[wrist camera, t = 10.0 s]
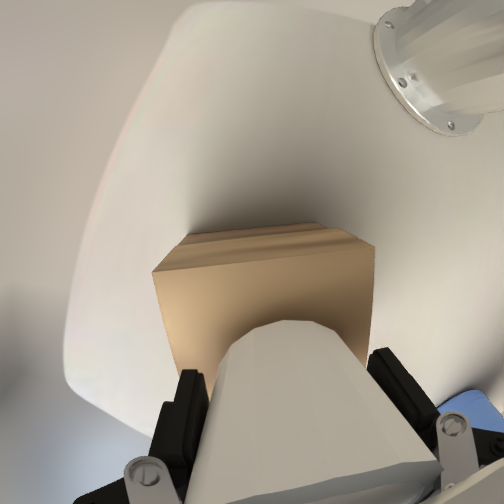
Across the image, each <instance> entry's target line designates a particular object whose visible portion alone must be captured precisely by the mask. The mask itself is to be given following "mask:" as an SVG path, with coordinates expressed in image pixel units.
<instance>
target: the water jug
mask: <svg viewBox="0 0 504 504" xmlns="http://www.w3.org/2000/svg"><path fill="white" fill-rule="evenodd" d="M437 410H438V411H439V412H440V414H443V413H445V412H448V411H457V412H461V413H462V414H464V415H465V416H466V417H467V418H468V419H469V421H470V424H471V427H473V428H479V429H484V430H490V431H497V432H503V433H504V418H503V416H502V415H501V413H500V412H499V411H498V410H497V409H496V408H495V407H494V406H493V405H492V403H491V402H490V401H489V399H488V398H487V397H486V395H485V394H484V393H483V392H481V391H480V390H469V391H466V392H463V393H461V394H459V395H457V396H455V397H453V398H452V399H450V400H449V401H447V402H446V403H444V404H443V405H442V406H440V407H439V408H438V409H437Z"/></svg>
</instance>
